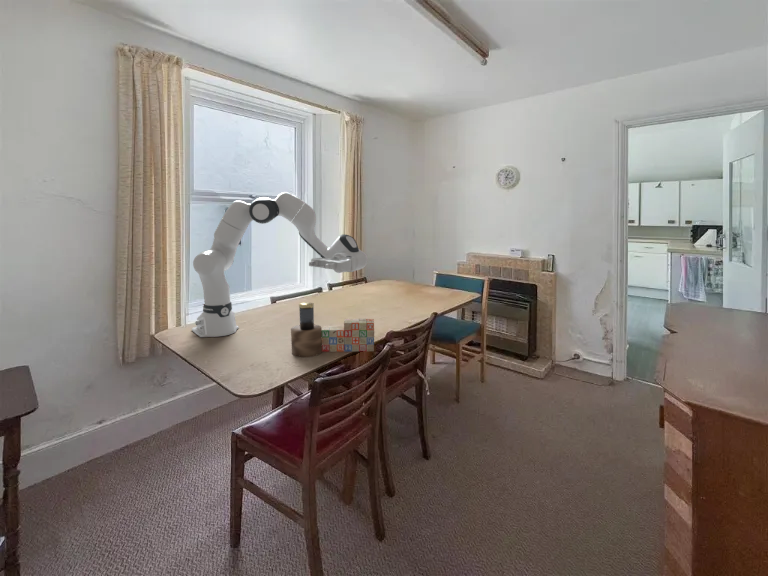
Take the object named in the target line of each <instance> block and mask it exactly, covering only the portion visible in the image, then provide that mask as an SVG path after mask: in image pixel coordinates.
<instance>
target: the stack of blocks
mask: <svg viewBox="0 0 768 576" xmlns="http://www.w3.org/2000/svg"><path fill="white" fill-rule="evenodd" d="M374 321H375V320H374V318H344V320H343V325H322V326H321V329H322V353H323V352H326V353H327V352H331V353H333V352H335V353H336V352H374V351H375V322H374Z"/></svg>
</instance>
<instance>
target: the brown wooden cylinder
mask: <svg viewBox="0 0 768 576" xmlns="http://www.w3.org/2000/svg"><path fill="white" fill-rule="evenodd" d="M290 333H291V334H290V335H291V337H290V341H291V343H290V344H291V355H293V356H295V357H298V358H311V357H316V356H319V355H320V354H322V353H323V352H322V326H321V325H319V324H315V323H314V329H312V330H301V329H300V324H298V325H294V326H292V327H291V328H290Z"/></svg>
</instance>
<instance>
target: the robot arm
mask: <svg viewBox="0 0 768 576" xmlns="http://www.w3.org/2000/svg"><path fill="white" fill-rule="evenodd" d="M278 216H280V217H283V218H284V219H286V220H287V221H289V222H290V224H293V225H294V227H295V228H296V229H297V231H298V235H299V236H300V238H301V239H302V240H303V241H304V242H305V243H306V244H307V245H308V246H309V247H310V248H311V249H312V250H313V251H314V252H316V254H317V255H318V256H320V257H312V258H311V259H310V261H309V262H308V266H309V267H313V268H321V269H327V270H333V271H334V272H335V273H338V274H340V273H353V272H355V271H360V270H362V269H364V268H365V267H366V266H367V265H368V263H369V257H368V255H367V253H366V252H364V251H363V250H361V249H360V248H359V246H358V243H357V241H356V240H355V238H354V237H353V236H351V235H349V234H346V233H345V234H343V233H342V234H340V235H339V236H338V237H336V239H335V240H334V242H332V244H331V245H330V246H327V245H326V244H325V243H324V242H323V241H321V239H320V238H319V237H317V235H316V233H315V227H316V223H317V215H316V212H315V210H314V208H312V207H311V206H310V205H309V204H308V203H307V202H305V201H304V200H303V199H301V198H299V197H298V196H296V195H293V194H292V193H289V192H287V191H283V192H281V193H279V194H278V195H277V197H276V198H274V199H273V198H271V197H270V196H269V197H268V196H261V197H257V198H256V199H254V200H253V201H252V202H251V203H247V202H245V201H243V200H234V201H233V202H232V203H231V204H230V205H229V207H228V208H227V209H226V210H225V212H224V214H223V216H222V218H221V219H220V221H219V223H218V225H217V227H216V229H215V231H214V232H213V237H214V238H213V241H212V245H211V247H210V249H208V250H204V251H201V252H200V253H198V254H197V255H196V256H195V257H194V259H193V261H192V266H193V269H194V271H195V272H196V273H197V274H198V276H199V279H200V282H201V285H202V291H203V299H204V303H202V312H201V313H200V315H199V316H198V317H196V320H195V321H194V322H195V327H194V326H193V327H192V328H191V331H192V332H193V333H194V334H195V335H197V336H198V337H199V338H208V337H211V338H214V337H215V338H217V337H225V336H228V335H232V334H234V333H236V332H237V330H238V329H240V327H239V325H237V322H236V321H237V320H236V315H235V312H234V311H233V303H232V301H231V290H230V284H229V283H228V282H227V278H226V275H225V272H226V271H228V270H229V269H230V268H231V267H232V266H233V263H234V259H235V256H236V252H237V249H238V246H239V244H240V243H241V240H242V239H243V237H244V235H245V233H246V231H247V229H248V227H249V225H250V223H252V221H254V222H255V223H258V224H261V225H262V224H264V225H265V224H267V223H270V222H272V221H273V219H274V220H275V218H277V217H278Z"/></svg>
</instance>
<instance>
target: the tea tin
mask: <svg viewBox="0 0 768 576" xmlns="http://www.w3.org/2000/svg"><path fill="white" fill-rule="evenodd" d="M314 306H315V305H314V303H313V302H308V301H307V302H301V303H300V302H299V304H298V309H299V325H300V329H301V330H312V329H314V324H315V313H314V308H315V307H314Z"/></svg>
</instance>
